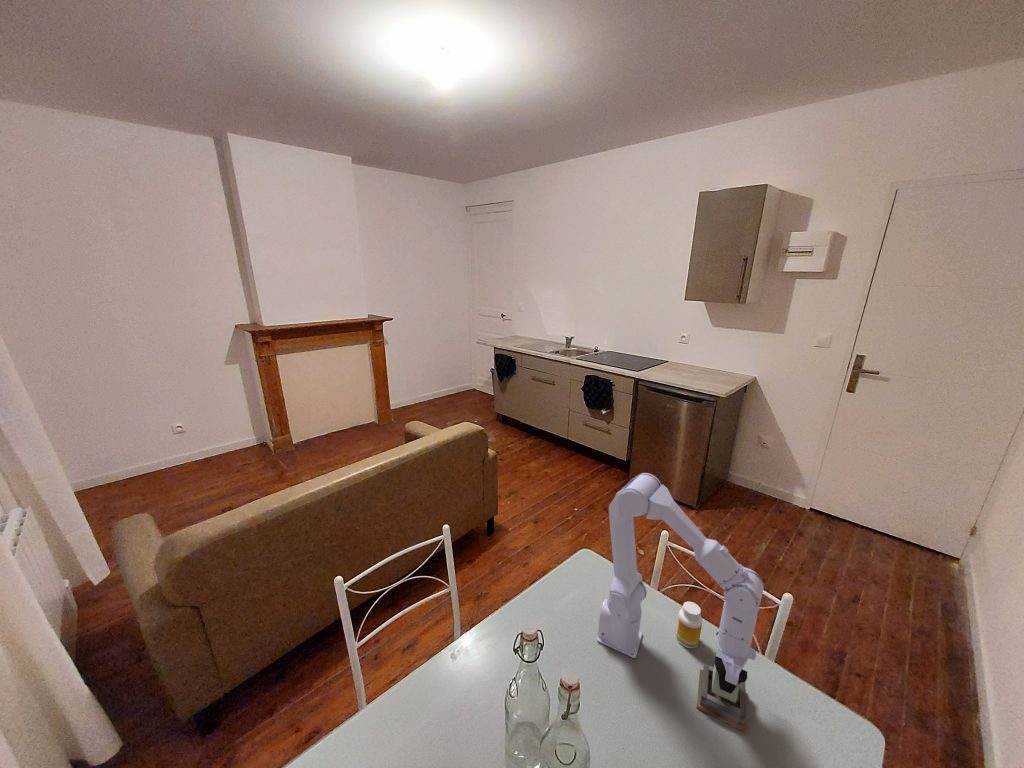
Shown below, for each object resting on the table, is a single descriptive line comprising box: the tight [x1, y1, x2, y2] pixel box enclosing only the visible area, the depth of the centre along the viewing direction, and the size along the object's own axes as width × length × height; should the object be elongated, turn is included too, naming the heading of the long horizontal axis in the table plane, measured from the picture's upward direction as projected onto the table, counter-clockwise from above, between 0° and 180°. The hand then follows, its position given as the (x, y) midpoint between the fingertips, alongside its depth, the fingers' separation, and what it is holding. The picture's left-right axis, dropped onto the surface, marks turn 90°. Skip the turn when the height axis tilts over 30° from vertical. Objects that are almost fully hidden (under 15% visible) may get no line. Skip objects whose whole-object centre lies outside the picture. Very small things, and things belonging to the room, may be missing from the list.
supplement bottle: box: [675, 601, 703, 649], centre depth 95 cm, size 5×5×10 cm
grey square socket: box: [696, 663, 748, 733], centre depth 82 cm, size 9×9×3 cm
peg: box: [712, 648, 740, 703], centre depth 80 cm, size 4×4×8 cm
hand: (725, 679), depth 81 cm, fingers closed on peg, 4 cm apart
